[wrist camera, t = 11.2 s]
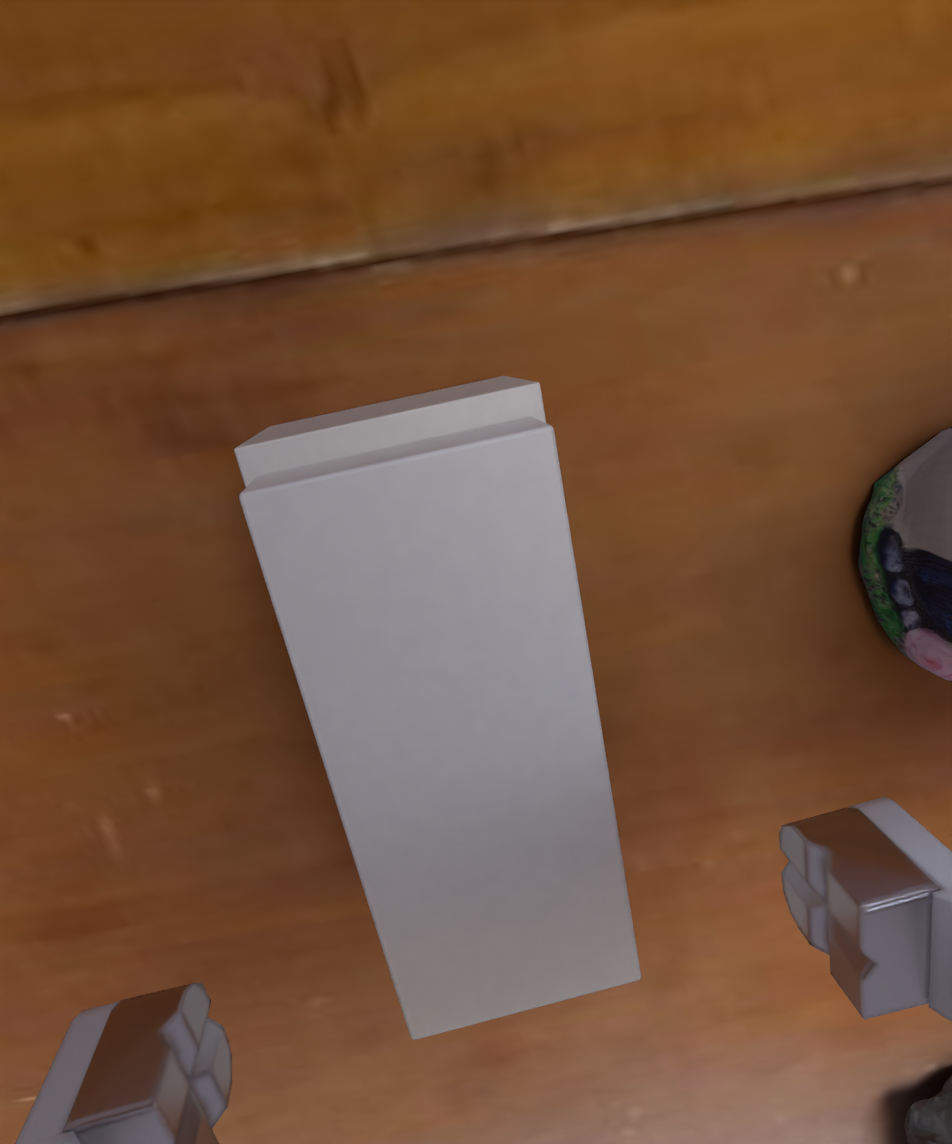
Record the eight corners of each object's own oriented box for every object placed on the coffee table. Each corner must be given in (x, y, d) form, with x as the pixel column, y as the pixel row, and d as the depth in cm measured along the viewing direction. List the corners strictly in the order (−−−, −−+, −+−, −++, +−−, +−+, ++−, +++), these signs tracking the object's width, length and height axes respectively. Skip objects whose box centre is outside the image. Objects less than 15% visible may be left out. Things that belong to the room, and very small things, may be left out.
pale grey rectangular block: (255, 476, 13) (236, 494, 11) (533, 415, 13) (554, 424, 12) (408, 975, 17) (411, 1042, 16) (618, 920, 18) (642, 981, 16)
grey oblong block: (267, 426, 17) (232, 448, 13) (506, 374, 17) (539, 382, 13) (400, 876, 21) (403, 989, 18) (587, 828, 22) (629, 929, 18)
